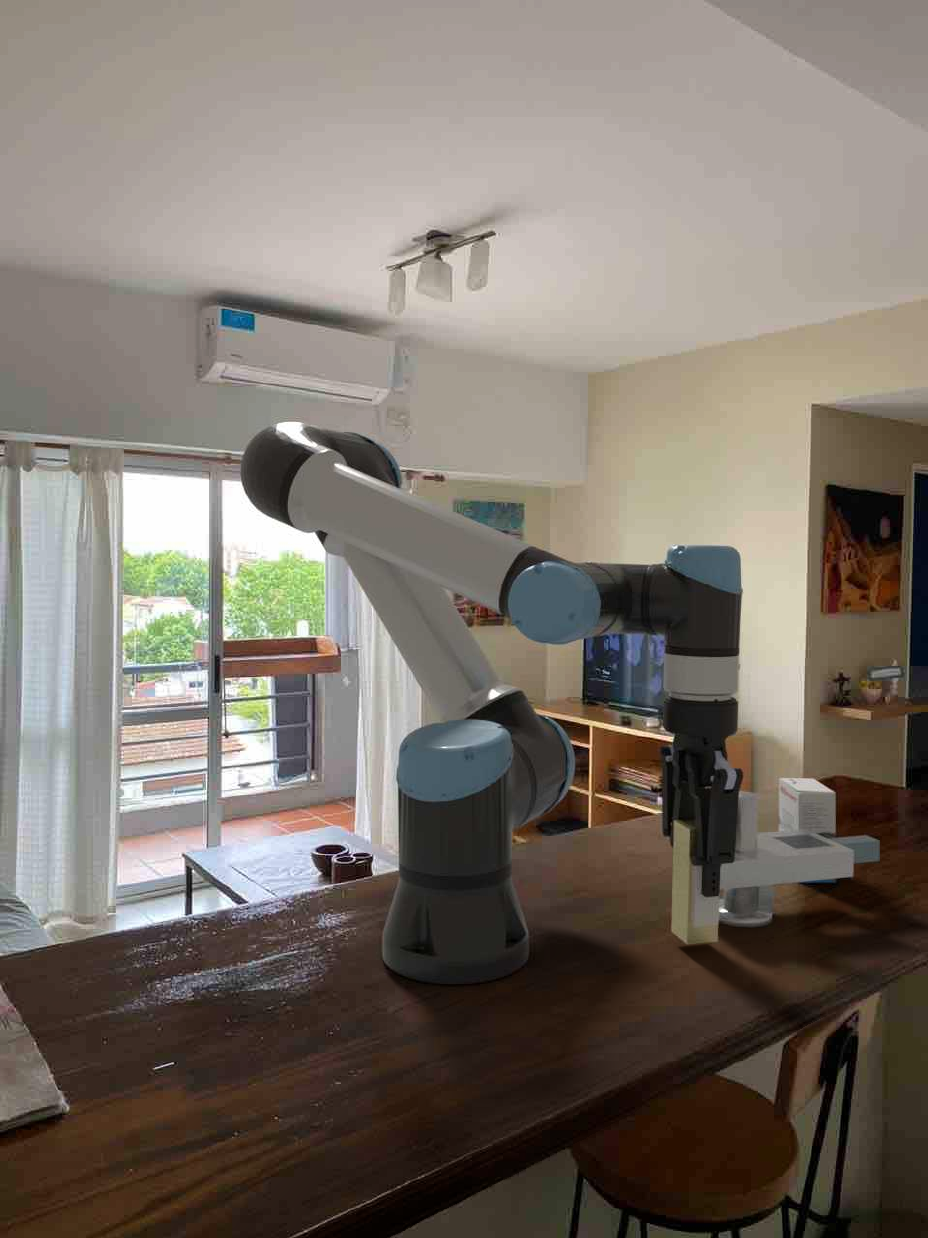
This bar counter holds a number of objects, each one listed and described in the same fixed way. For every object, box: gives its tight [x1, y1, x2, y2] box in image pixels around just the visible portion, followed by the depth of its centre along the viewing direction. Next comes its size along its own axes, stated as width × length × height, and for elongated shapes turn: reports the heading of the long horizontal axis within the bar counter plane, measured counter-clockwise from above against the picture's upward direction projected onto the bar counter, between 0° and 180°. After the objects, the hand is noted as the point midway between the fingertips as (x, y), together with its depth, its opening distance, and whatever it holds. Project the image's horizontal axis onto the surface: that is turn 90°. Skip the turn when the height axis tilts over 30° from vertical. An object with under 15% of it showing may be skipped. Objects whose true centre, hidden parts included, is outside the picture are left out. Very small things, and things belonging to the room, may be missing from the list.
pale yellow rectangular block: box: [670, 819, 719, 945], centre depth 98 cm, size 4×4×12 cm
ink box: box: [778, 777, 837, 884], centre depth 122 cm, size 9×5×12 cm, turn 179°
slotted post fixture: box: [718, 790, 881, 928], centre depth 108 cm, size 24×9×14 cm, turn 104°
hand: (694, 916), depth 98 cm, fingers closed on pale yellow rectangular block, 3 cm apart
